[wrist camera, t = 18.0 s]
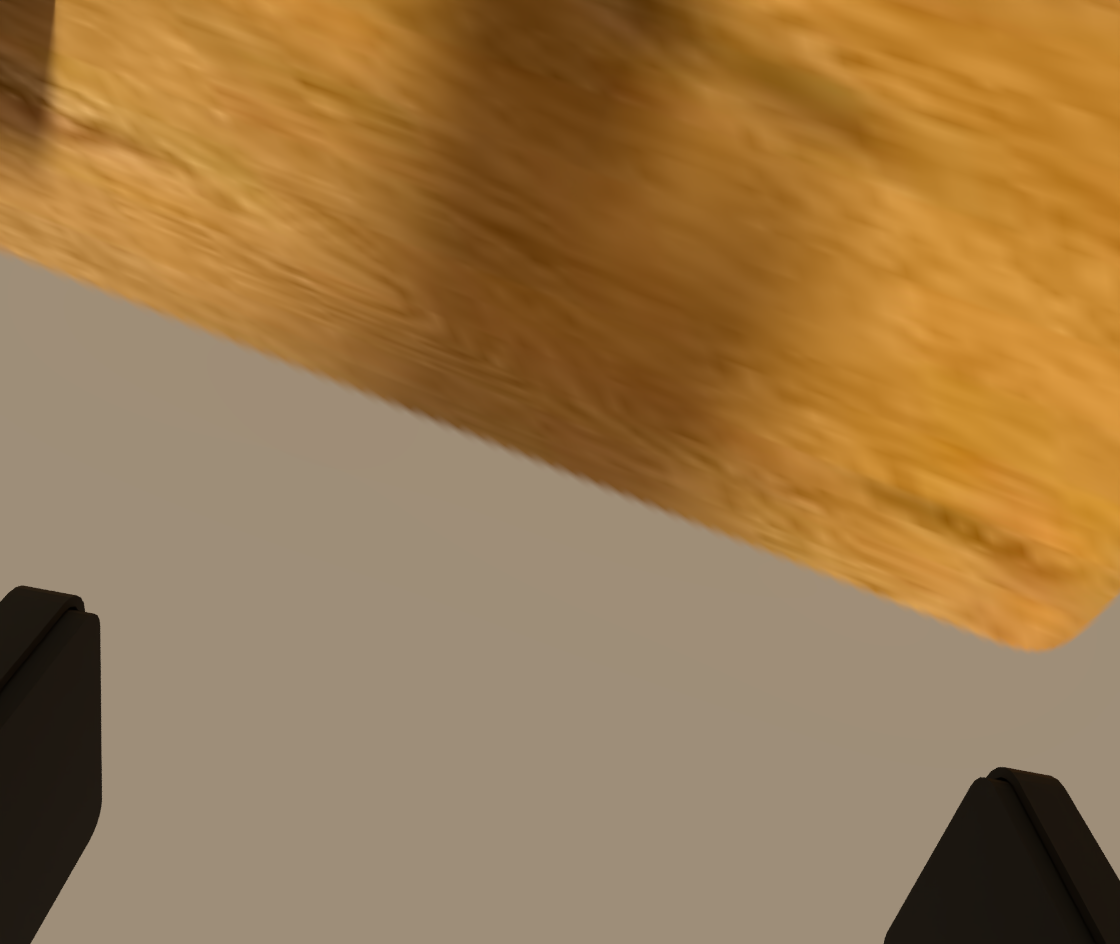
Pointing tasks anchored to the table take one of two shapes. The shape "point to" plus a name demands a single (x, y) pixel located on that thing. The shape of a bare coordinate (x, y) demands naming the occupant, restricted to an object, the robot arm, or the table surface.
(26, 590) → the robot arm
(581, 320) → the table surface
